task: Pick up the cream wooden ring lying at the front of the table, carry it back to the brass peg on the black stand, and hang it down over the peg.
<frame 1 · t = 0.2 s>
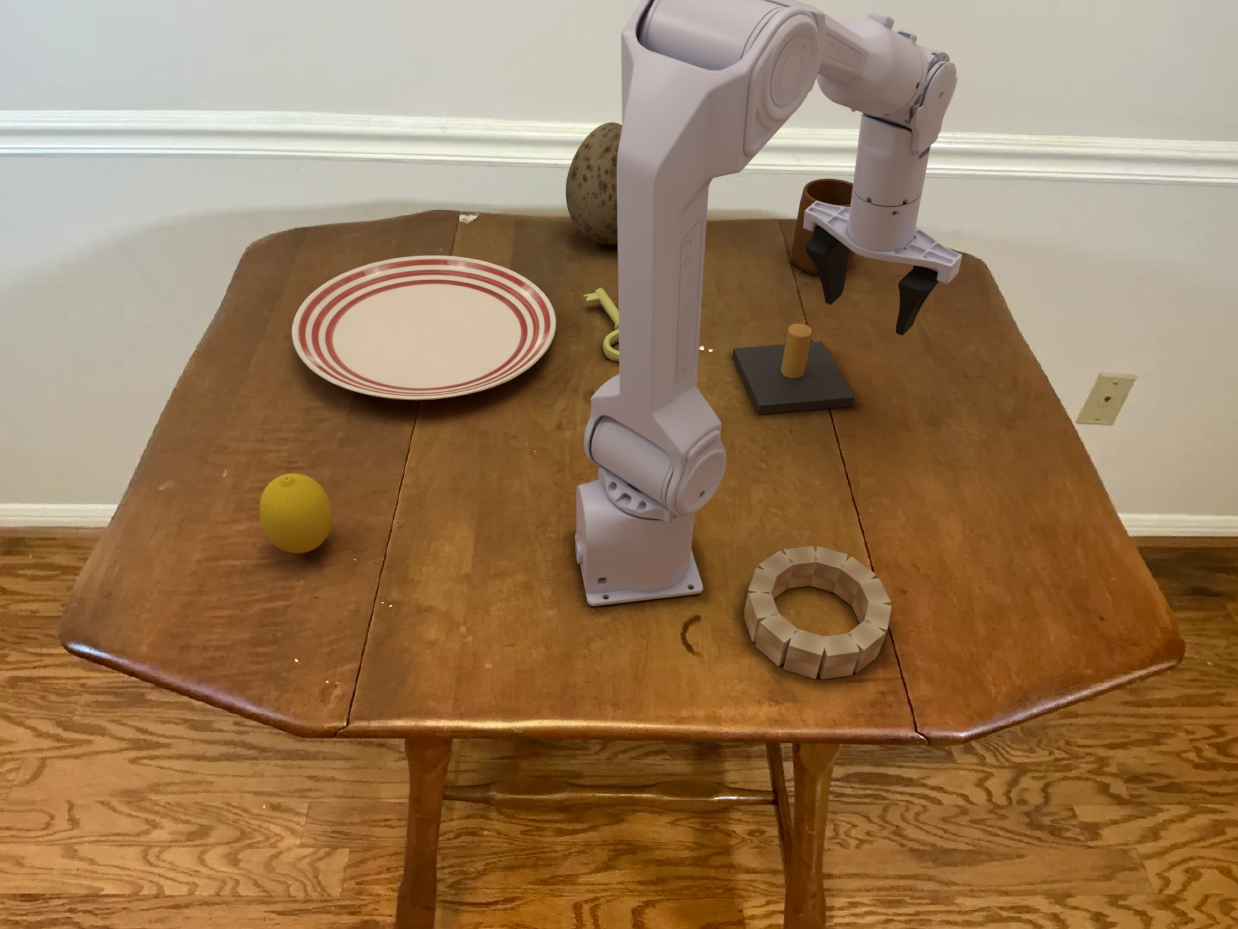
hand: (868, 313, 90), 11 cm above the table, tool pointing down, fingers open, 7 cm apart
lemon: (306, 549, 80), on the table
peg stand: (790, 381, 99), on the table
decorative egg: (608, 241, 120), on the table
ring: (813, 622, 75), on the table
dinner plate: (429, 344, 102), on the table
mug: (823, 273, 116), on the table
key: (621, 335, 105), on the table
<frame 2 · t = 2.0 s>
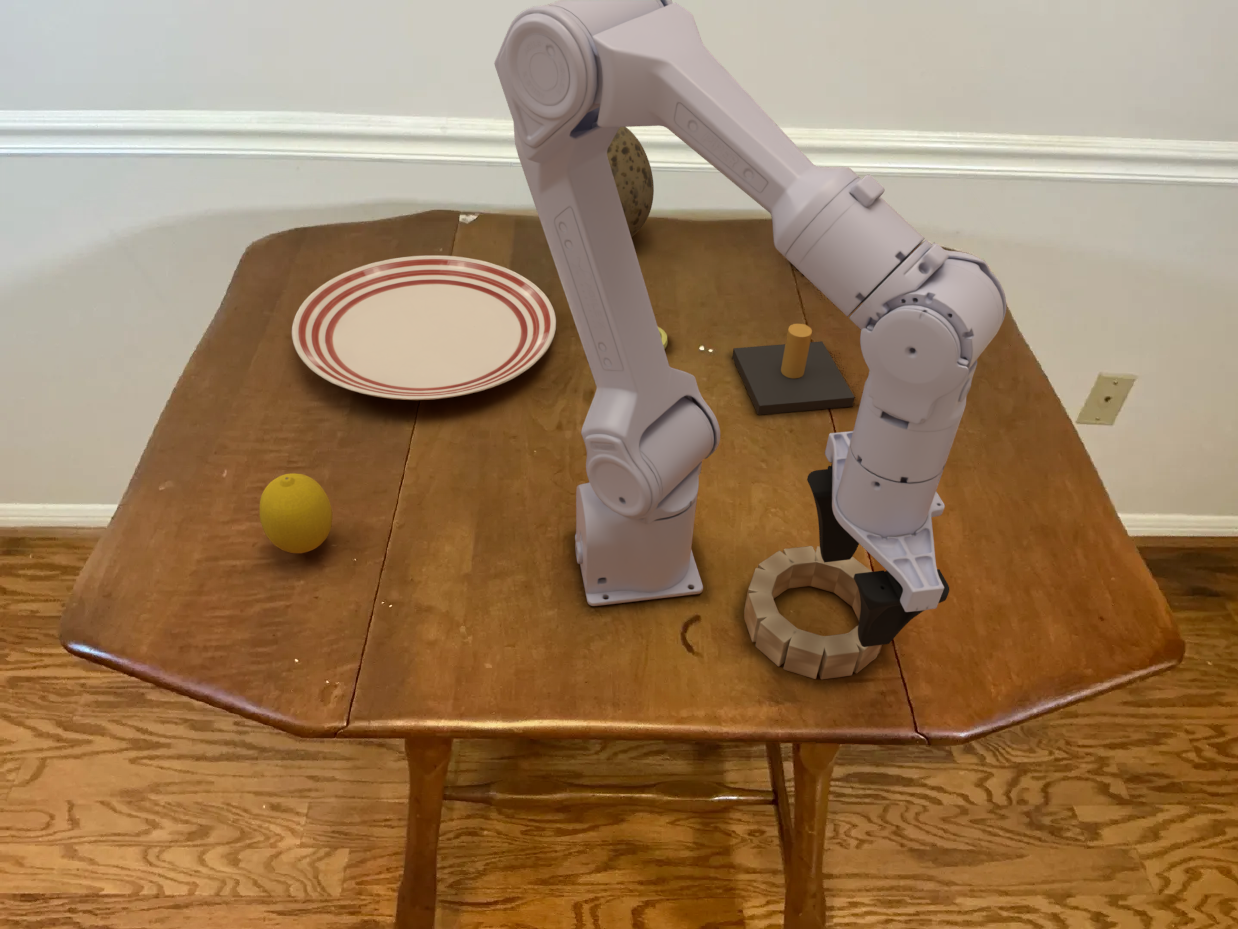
hand: (854, 597, 66), 8 cm above the table, tool pointing down, fingers open, 7 cm apart
nothing on the table moved.
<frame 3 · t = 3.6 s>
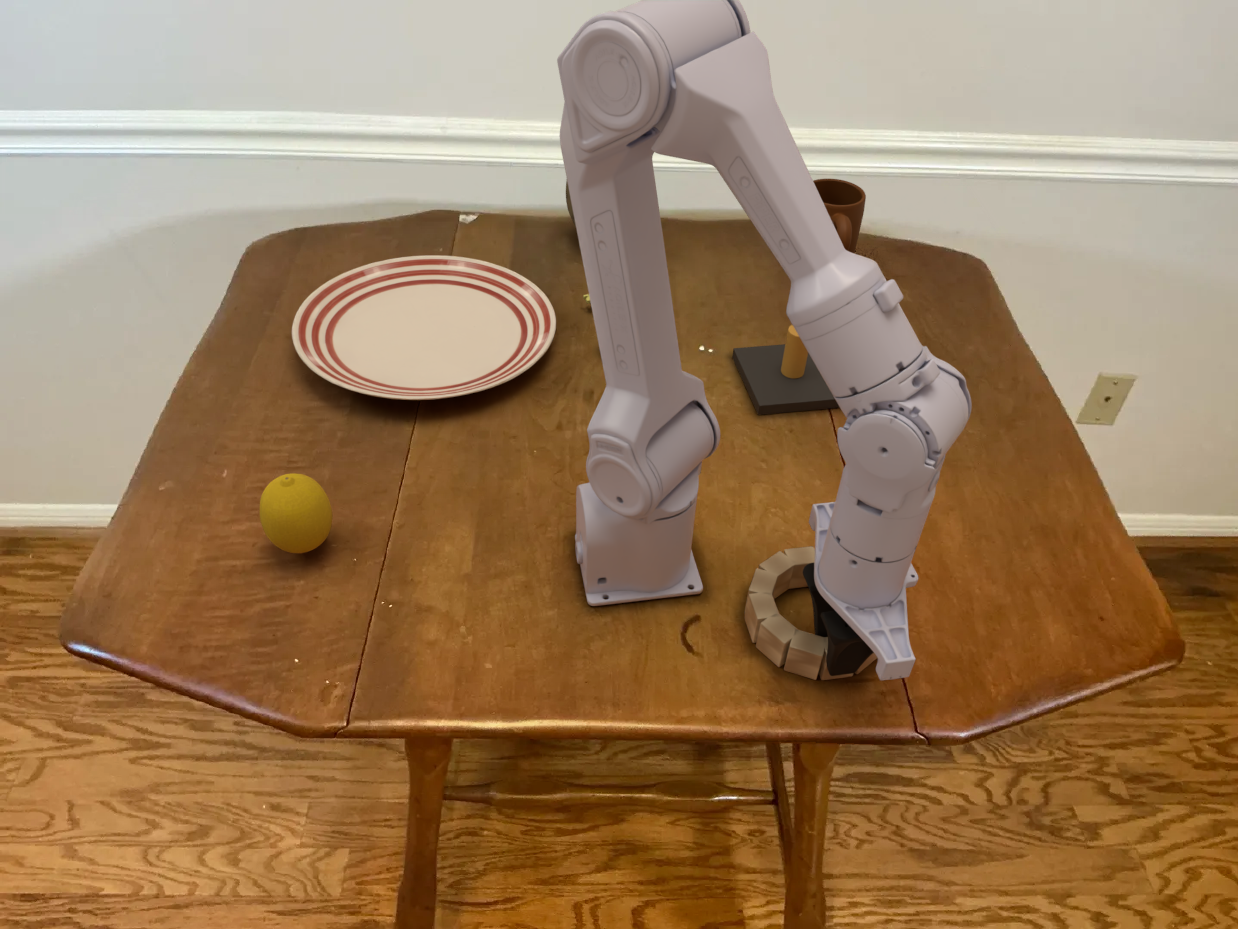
hand: (835, 657, 71), 1 cm above the table, tool pointing down, fingers closed on ring, 2 cm apart
ring: (813, 622, 75), on the table, touching gripper
everything else where it was.
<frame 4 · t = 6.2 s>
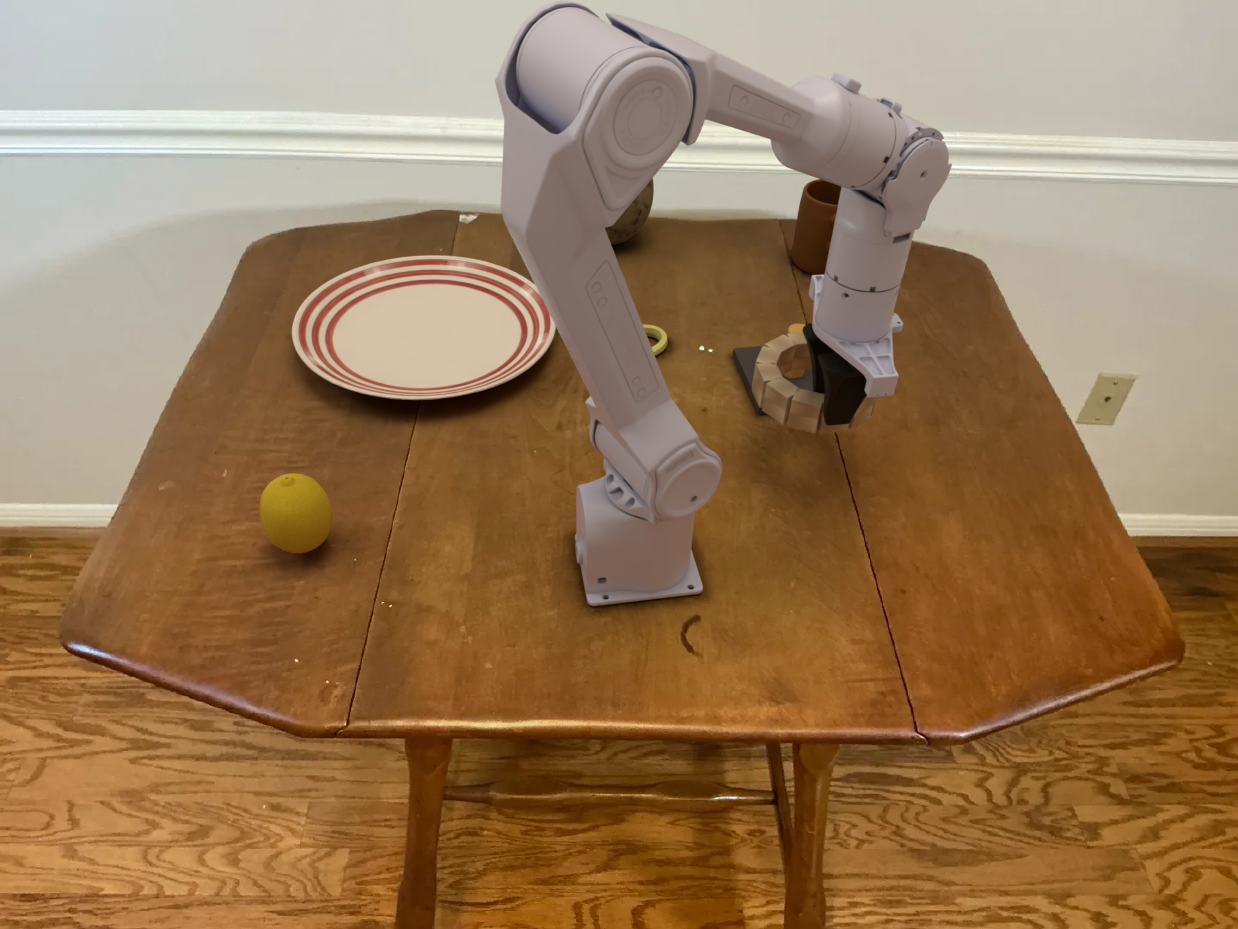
hand: (831, 412, 81), 9 cm above the table, tool pointing down, fingers closed on ring
ring: (813, 393, 85), point 8 cm above the table, touching gripper
everything else where it was.
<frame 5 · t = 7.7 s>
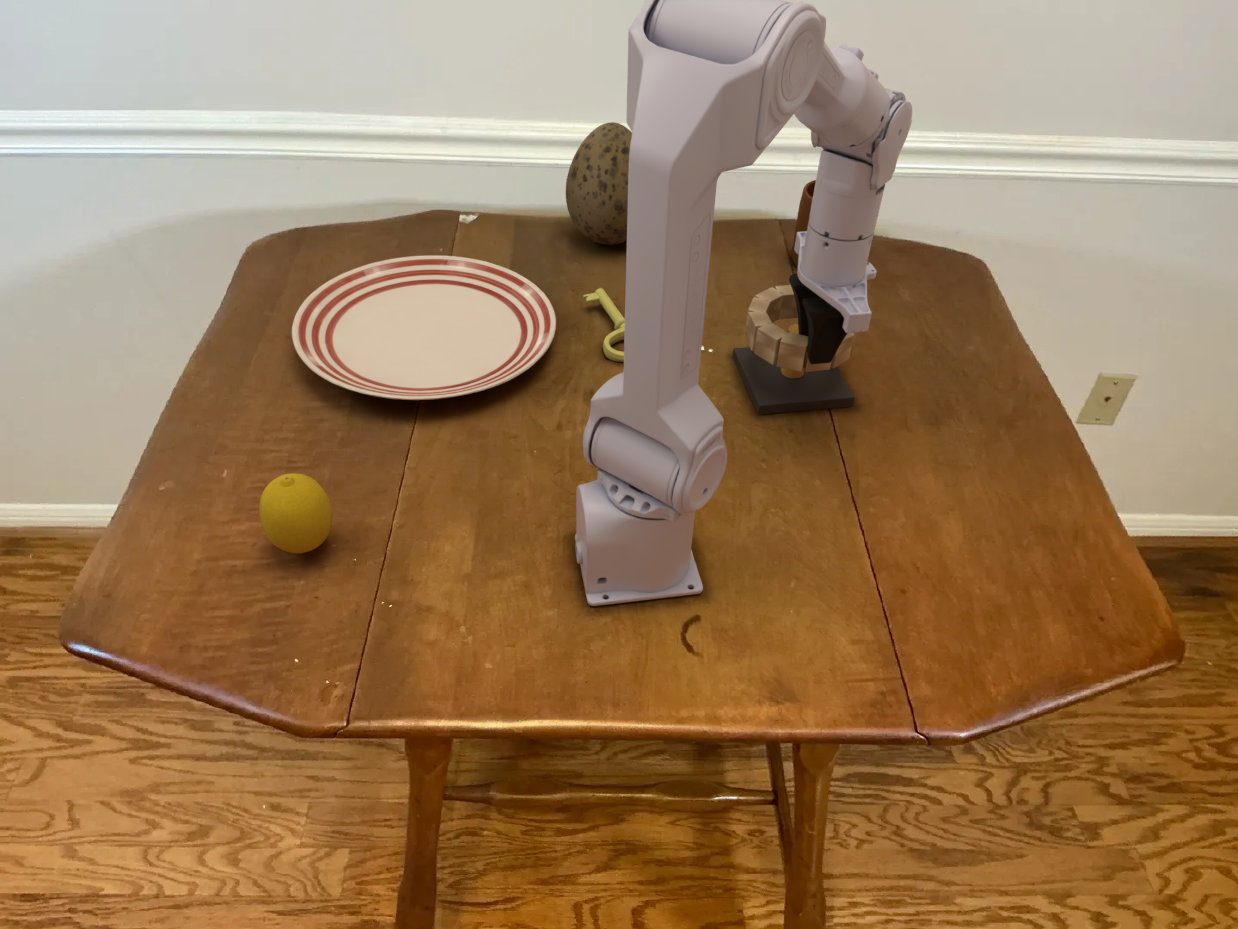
hand: (815, 353, 91), 7 cm above the table, tool pointing down, fingers closed on ring
ring: (799, 338, 95), point 5 cm above the table, touching gripper
everything else where it was.
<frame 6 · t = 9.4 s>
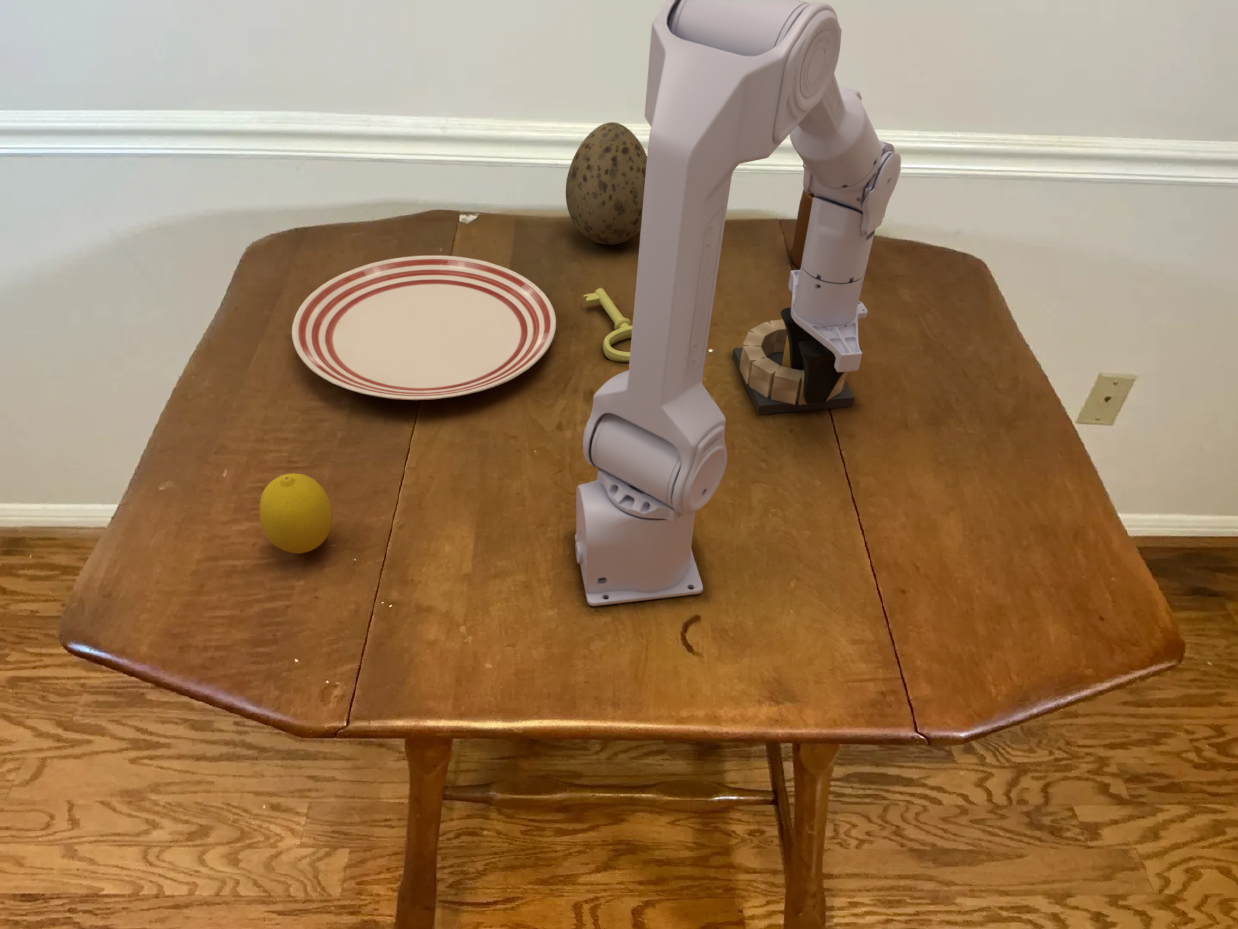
hand: (808, 388, 94), 3 cm above the table, tool pointing down, fingers open, 3 cm apart
ring: (793, 372, 98), point 1 cm above the table, touching peg stand
everything else where it was.
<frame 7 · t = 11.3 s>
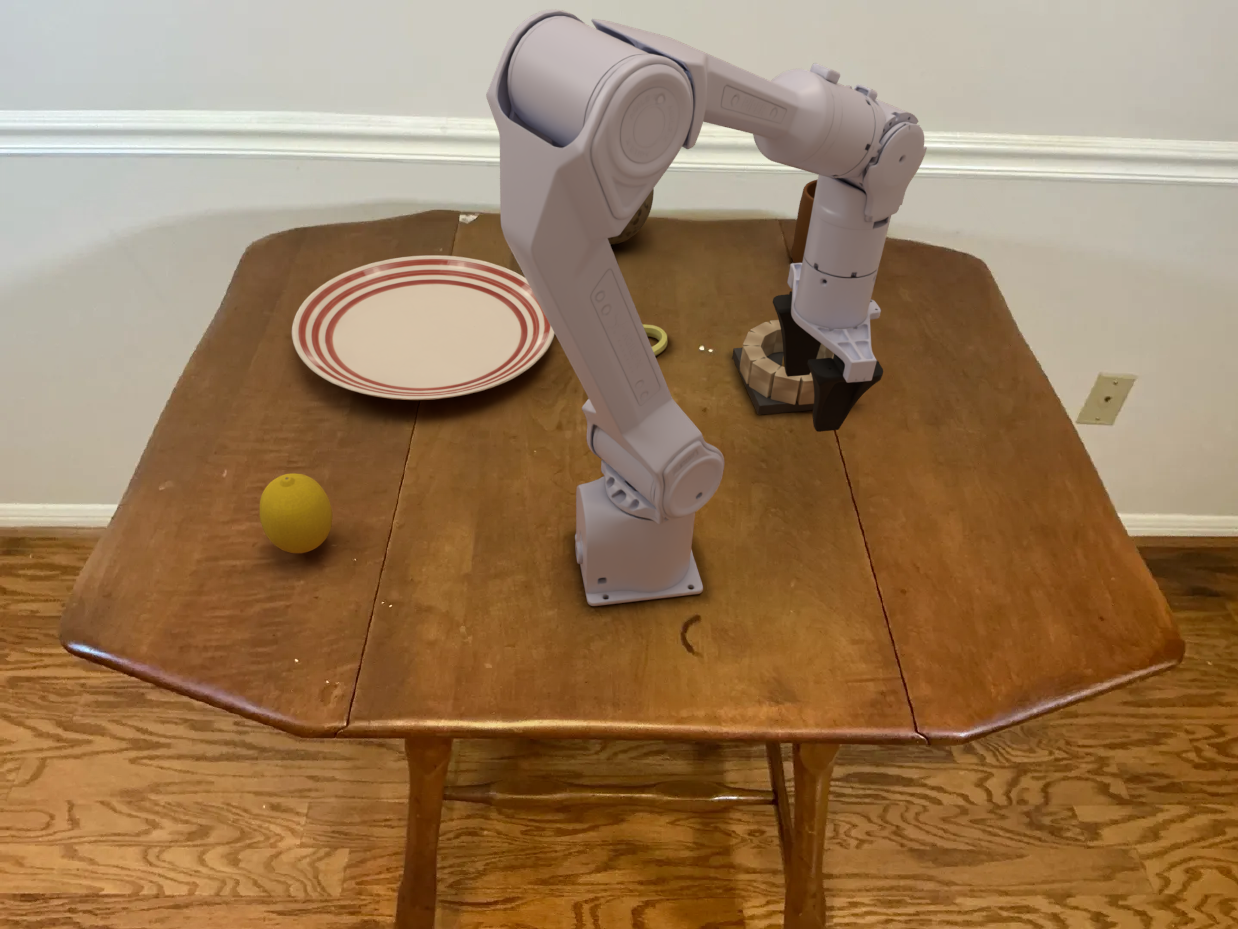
hand: (811, 400, 81), 9 cm above the table, tool pointing down, fingers open, 7 cm apart
nothing on the table moved.
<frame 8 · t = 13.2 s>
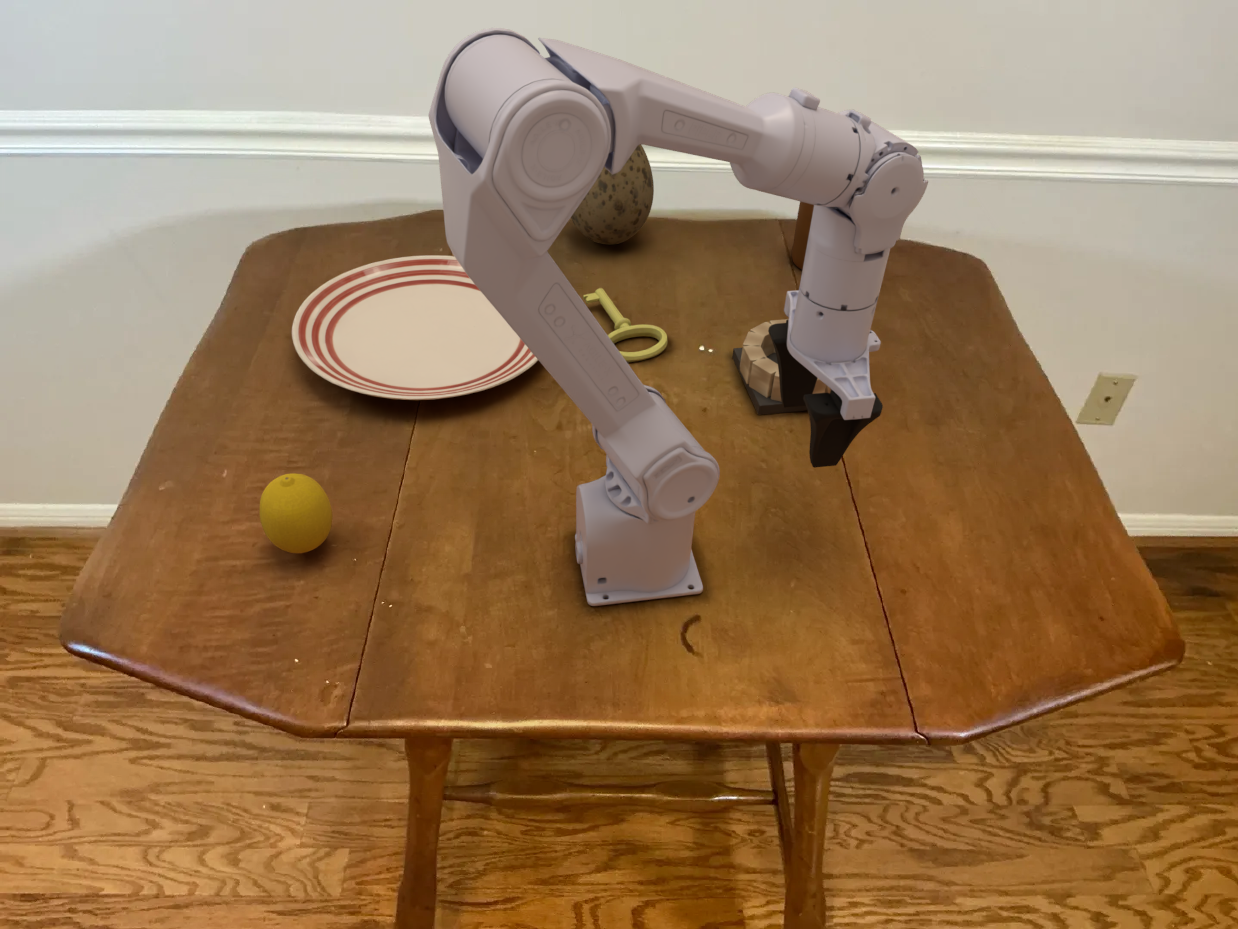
hand: (808, 432, 78), 9 cm above the table, tool pointing down, fingers open, 7 cm apart
nothing on the table moved.
at the end: ring 0.1 cm off-centre on the peg stand, point 1.2 cm above the peg stand's base; the gripper is holding nothing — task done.
